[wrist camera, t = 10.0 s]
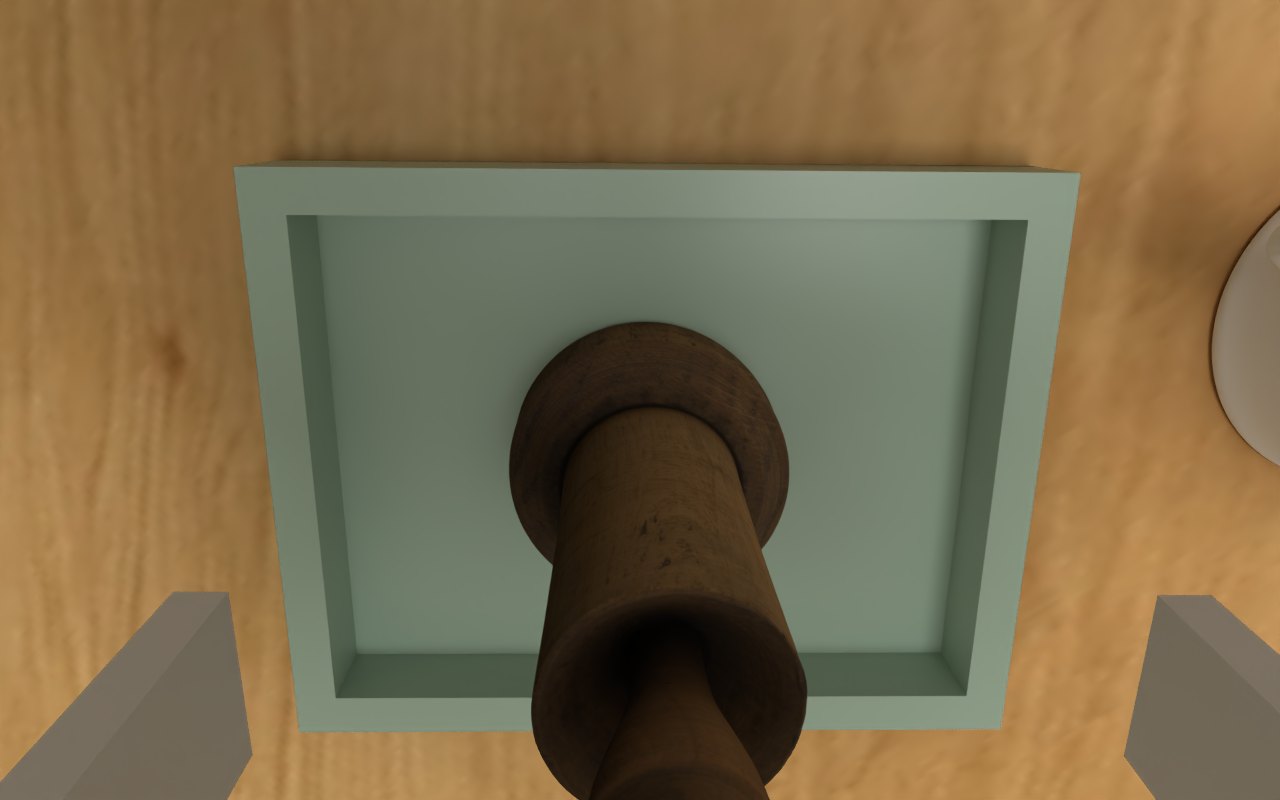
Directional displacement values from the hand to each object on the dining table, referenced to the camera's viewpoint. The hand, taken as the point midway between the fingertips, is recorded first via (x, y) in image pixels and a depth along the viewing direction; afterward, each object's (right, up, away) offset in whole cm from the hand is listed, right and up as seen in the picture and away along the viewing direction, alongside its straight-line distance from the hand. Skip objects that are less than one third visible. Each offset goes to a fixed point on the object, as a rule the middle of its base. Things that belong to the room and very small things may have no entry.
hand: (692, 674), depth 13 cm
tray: (0, +3, +11) cm, 11 cm away
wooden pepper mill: (-1, +3, +11) cm, 11 cm away
